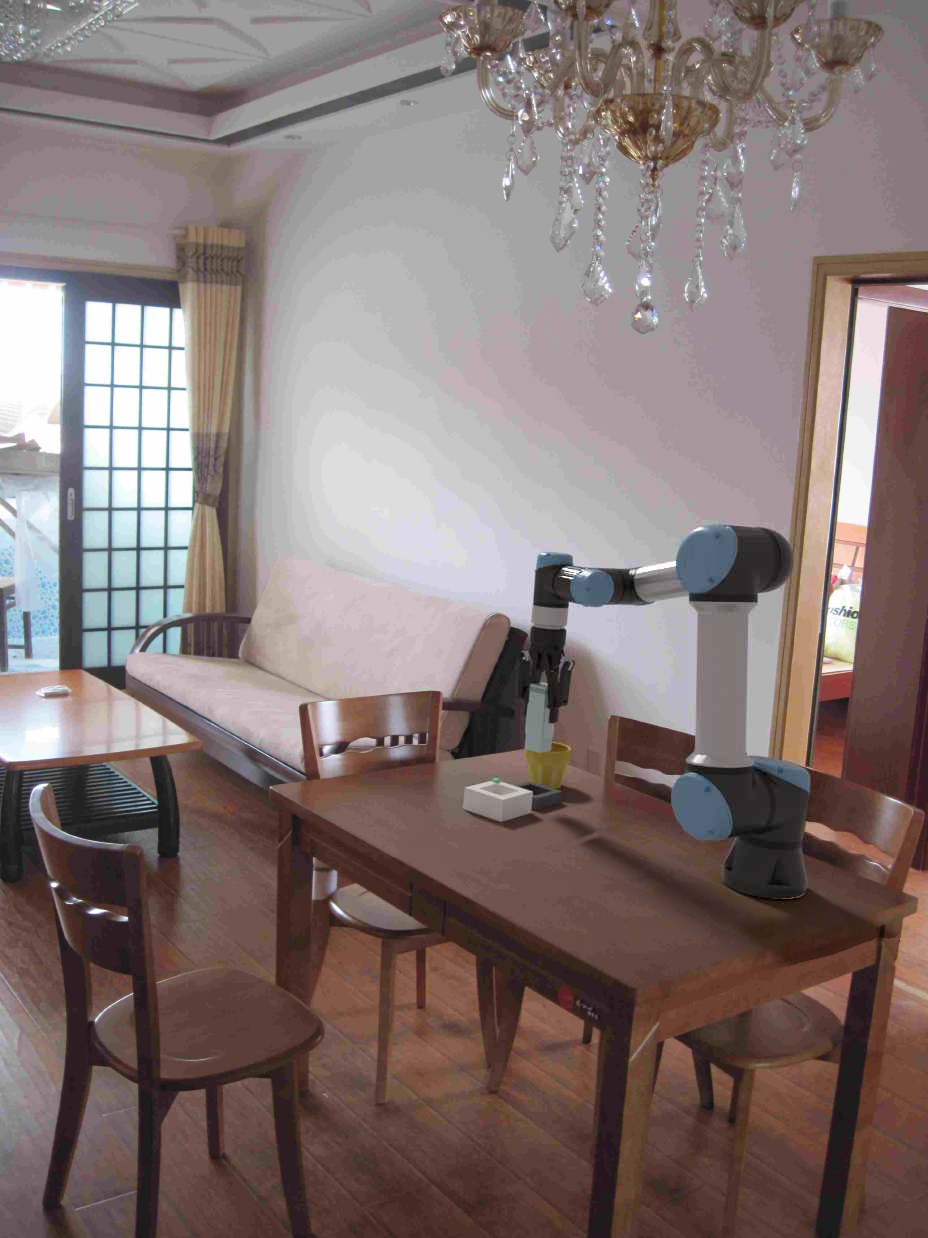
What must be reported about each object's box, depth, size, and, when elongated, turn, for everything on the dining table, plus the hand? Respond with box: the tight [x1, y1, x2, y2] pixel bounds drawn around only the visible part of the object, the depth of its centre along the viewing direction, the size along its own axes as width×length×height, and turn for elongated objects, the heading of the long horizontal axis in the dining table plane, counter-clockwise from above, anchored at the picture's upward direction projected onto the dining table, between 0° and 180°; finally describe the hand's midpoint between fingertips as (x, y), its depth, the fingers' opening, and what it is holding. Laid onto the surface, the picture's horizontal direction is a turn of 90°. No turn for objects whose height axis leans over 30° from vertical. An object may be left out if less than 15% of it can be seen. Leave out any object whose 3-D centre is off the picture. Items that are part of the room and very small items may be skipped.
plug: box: [524, 681, 553, 753], centre depth 243 cm, size 4×4×14 cm
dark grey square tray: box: [512, 780, 563, 811], centre depth 246 cm, size 9×9×3 cm
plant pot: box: [524, 741, 572, 790], centre depth 259 cm, size 10×10×10 cm
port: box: [462, 777, 533, 822], centre depth 236 cm, size 10×10×6 cm
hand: (539, 735), depth 244 cm, fingers closed on plug, 4 cm apart
